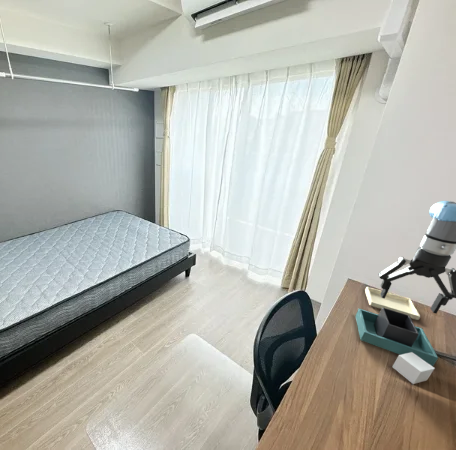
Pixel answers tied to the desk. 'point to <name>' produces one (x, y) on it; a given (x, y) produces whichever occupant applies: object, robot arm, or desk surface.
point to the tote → (369, 335)
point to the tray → (391, 302)
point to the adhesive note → (413, 367)
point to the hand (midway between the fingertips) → (406, 303)
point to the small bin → (396, 327)
